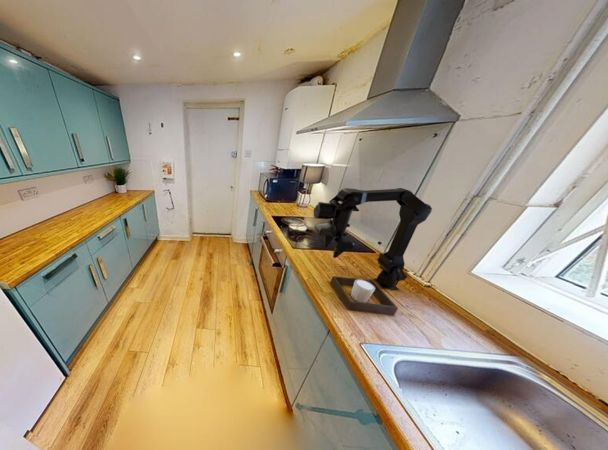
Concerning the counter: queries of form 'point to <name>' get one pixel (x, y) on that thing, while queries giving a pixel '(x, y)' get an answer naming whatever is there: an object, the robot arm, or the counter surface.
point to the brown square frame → (385, 308)
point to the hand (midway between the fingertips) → (329, 251)
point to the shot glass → (362, 290)
